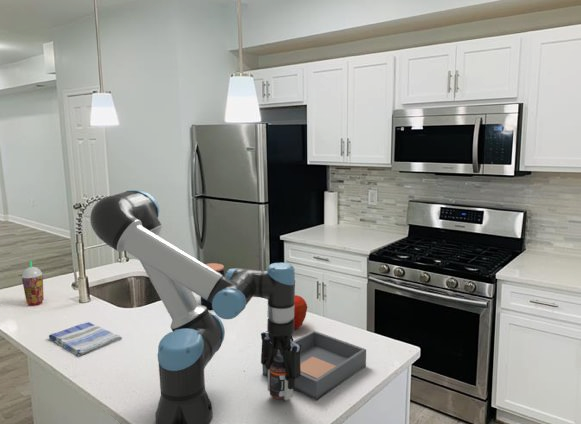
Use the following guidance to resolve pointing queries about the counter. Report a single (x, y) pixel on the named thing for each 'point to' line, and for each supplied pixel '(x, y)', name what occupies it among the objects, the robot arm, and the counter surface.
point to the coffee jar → (220, 270)
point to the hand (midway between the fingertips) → (280, 393)
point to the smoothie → (33, 285)
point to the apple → (299, 311)
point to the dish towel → (84, 338)
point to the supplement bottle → (277, 377)
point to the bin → (325, 363)
